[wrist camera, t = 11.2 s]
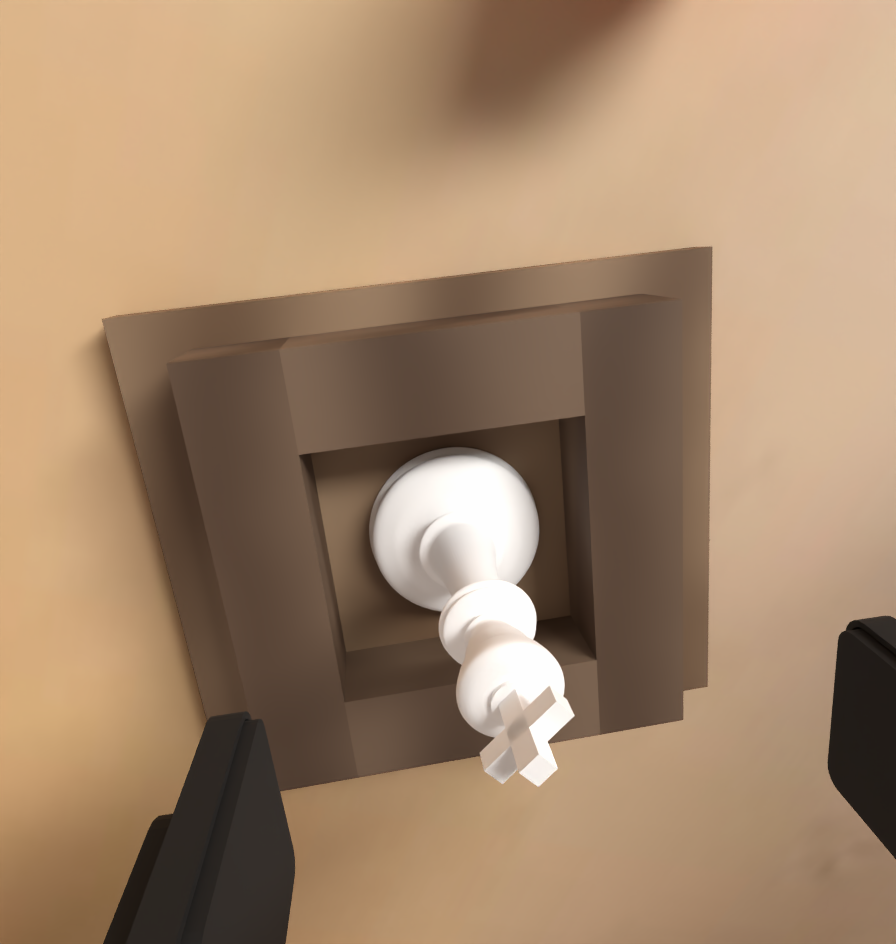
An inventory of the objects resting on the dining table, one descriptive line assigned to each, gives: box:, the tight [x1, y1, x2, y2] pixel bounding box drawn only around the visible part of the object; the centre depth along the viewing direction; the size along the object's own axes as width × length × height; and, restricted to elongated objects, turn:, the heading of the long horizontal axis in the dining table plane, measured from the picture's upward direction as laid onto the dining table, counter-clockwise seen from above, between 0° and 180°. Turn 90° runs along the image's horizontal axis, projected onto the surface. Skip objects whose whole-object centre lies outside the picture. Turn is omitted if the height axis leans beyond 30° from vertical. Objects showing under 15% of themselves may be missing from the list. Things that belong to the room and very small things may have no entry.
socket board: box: [102, 247, 712, 791], centre depth 19 cm, size 16×14×4 cm
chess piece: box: [369, 447, 575, 787], centre depth 15 cm, size 5×5×10 cm
